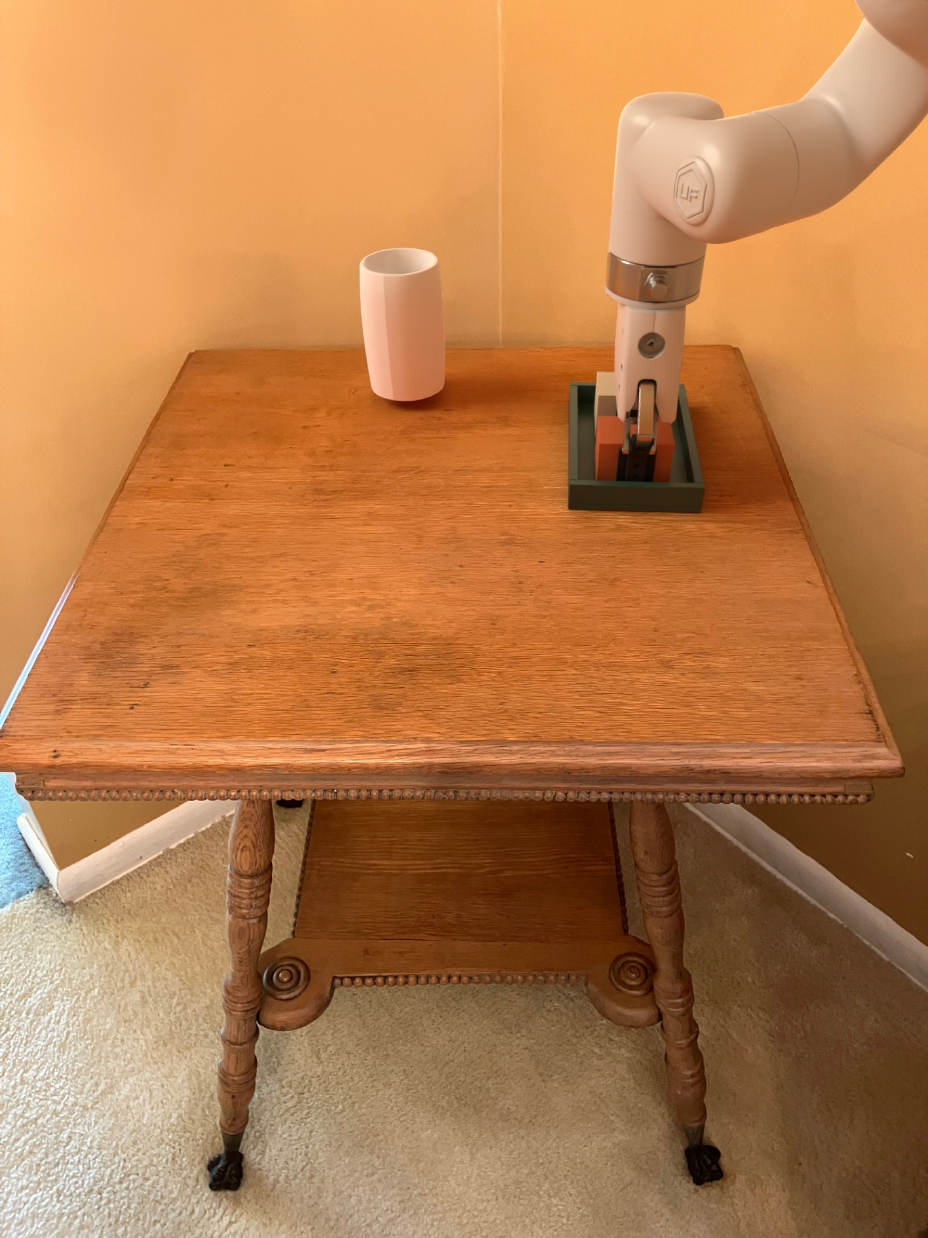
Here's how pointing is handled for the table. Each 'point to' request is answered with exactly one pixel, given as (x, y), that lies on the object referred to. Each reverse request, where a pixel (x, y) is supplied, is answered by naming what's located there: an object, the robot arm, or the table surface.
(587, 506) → the tray
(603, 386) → the cream white rectangular block
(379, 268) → the cup
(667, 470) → the orange-red block
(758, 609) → the table surface
